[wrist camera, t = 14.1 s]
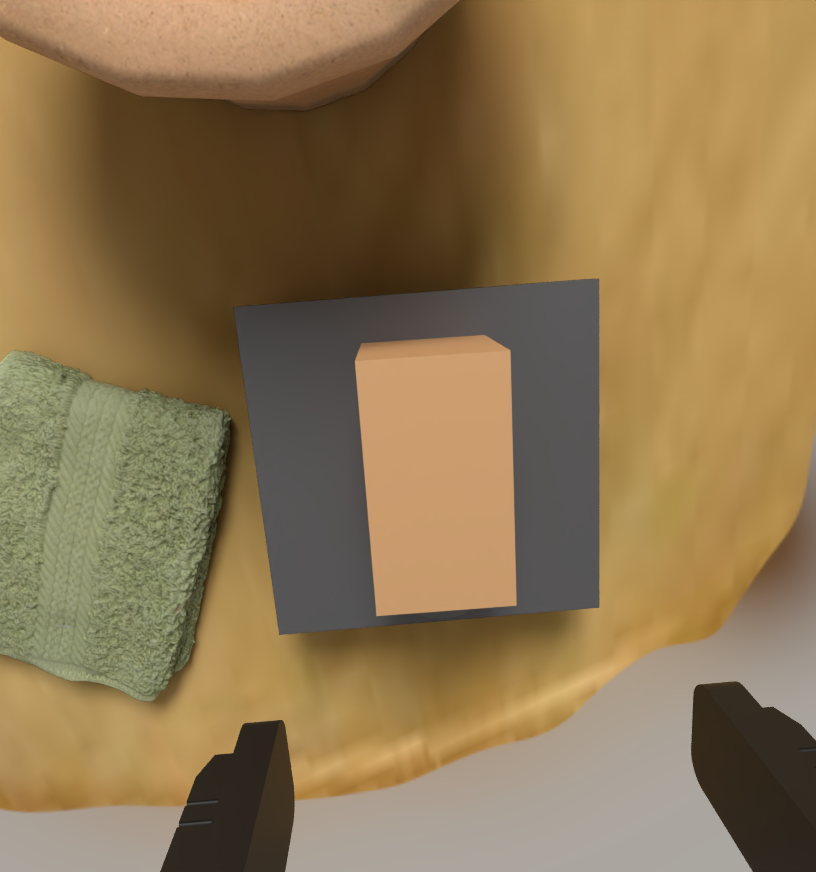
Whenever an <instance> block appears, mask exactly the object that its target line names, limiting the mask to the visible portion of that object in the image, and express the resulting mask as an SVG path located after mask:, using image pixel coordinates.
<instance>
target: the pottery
mask: <svg viewBox="0 0 816 872" xmlns="http://www.w3.org/2000/svg"><path fill="white" fill-rule="evenodd" d="M458 1H460V0H0V36H1V37H2V38H4V39H6V40H7V41H9V42H12V43H14V44H17V45H19V46H21V47H24V48H26V49H28V50H31V51H33V52H36V53H38V54H40V55H43V56H45V57H48V58H50V59H52V60H55V61H57V62H60V63H62V64H64V65H67V66H69V67H71V68H74V69H76V70H79V71H81V72H83V73H86V74H88V75H91V76H93V77H95V78H98V79H100V80H103V81H105V82H107V83H110V84H112V85H114V86H117V87H119V88H122V89H124V90H126V91H129V92H131V93H134V94H136V95H138V96H146V97H174V98H201V99H223V100H225V101H228V102H230V103H232V104H235V105H237V106H240V107H242V108H244V109H261V110H289V111H309V110H312V109H315V108H317V107H320V106H323V105H326V104H328V103H331V102H334V101H337V100H339V99H342V98H345V97H348V96H350V95H353V94H356V93H359V92H361V91H364V90H366V89H367V88H368V87H369V86H370V85H372V84H373V83H374V82H375V81H376V80H377V79H378V78H380V77H381V76H382V75H383V74H384V73H385V72H386V71H388V70H389V69H390V68H391V67H392V66H393V65H394V64H395V63H397V62H398V61H399V60H400V59H401V58H402V57H403V56H405V55H406V54H407V53H408V52H409V51H410V50H411V49H413V48H414V46H415V44H416V42H417V40H418V39H419V37H420V35H421V34H422V33H423V32H424V31H426V30H427V29H428V28H429V27H430V26H431V25H432V24H433V23H435V22H436V21H437V20H438V19H439V18H440V17H441V16H443V15H444V14H445V13H446V12H447V11H448V10H449V9H450V8H452V7H453V6H454V5H455V4H456V3H457V2H458Z"/></svg>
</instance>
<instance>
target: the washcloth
mask: <svg viewBox="0 0 816 872" xmlns="http://www.w3.org/2000/svg"><path fill="white" fill-rule="evenodd" d="M230 420H232V418H230V415H229V413H228V412H227V411H226V410H221V409H220V408H219V407H216V409H213V408H211V407H209V406H207V405H201V404H198V403H197V404H196V403H195V404H193V403H187V402H184V401H183V400H182V399H179V398H173V399H172V398H169V397H168V396H164V395H163V394H160V393H158V392H155V391H149V390H148V389H147V388H145V389H144V390H140V391H138V392H136V391H131V390H130V389H126V388H123V387H118V386H116V385H112V384H109V383H102V382H100V381H96V380H92V378H91V376H90V375H89V374H87V373H84V372H82V371H81V370H80V369H75V368H72V367H69V366H68V367H66V368H64V367H63V366H62V365H61V364H60V363H58V362H53V361H51V360H50V359H48V358H46V357H43V356H41V355H38V354H35V353H33V352H31V351H28V352H27V351H24V352H22V351H16V350H13V351H11V352H10V353H9V354H7V356H6V357H5V358H4V359H3V360H2V362H1V363H0V654H2V655H6V656H8V657H12V658H13V659H17V660H20V661H23V662H25V663H29V664H32V665H34V666H37V667H39V668H40V669H42V670H44V671H46V672H48V673H50V674H53V675H55V676H57V677H60V678H63V679H66V680H69V681H89V682H96V683H100V684H104V685H107V686H110V687H113V688H116V689H119V690H121V691H123V692H125V693H127V694H128V695H130V696H132V697H134V698H136V699H138V700H141V701H148V702H151V701H153V700H155V699H156V698H157V697H158V696H159V694H160V692H161V690H165V689H167V688H168V685H169V681H170V678H171V677H172V676H173V675H172V674H173V673H175V672H177V671H179V670H181V669H183V668H184V665H185V664H186V662H187V661H188V660H189V657H190V655H191V649H192V646H193V643H195V641H194V637H193V636H194V635H195V633H194V632H195V624H196V621H197V619H198V617H199V613H200V604H201V599H202V592H203V589H204V585H203V581H204V580H205V579H206V577H207V572H208V571H207V569H208V568H209V560H210V558H211V553H212V541H213V539H214V538H215V534H216V527H217V522H216V521H215V519H216V517H217V516H218V513H219V510H220V509H221V503H222V497H221V494H220V492H221V490H222V489H223V486H224V484H223V483H224V481H225V478H226V474H225V472H224V470H226V465H225V464H226V456H227V452H228V447H229V445H230V432H231V430H230V428H229V425H230V422H231V421H230Z"/></svg>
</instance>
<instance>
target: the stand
mask: <svg viewBox="0 0 816 872" xmlns="http://www.w3.org/2000/svg"><path fill="white" fill-rule="evenodd" d="M233 308H234V315H235V323H236V330H237V337H238V344H239V351H240V358H241V365H242V372H243V379H244V387H245V394H246V401H247V408H248V415H249V422H250V429H251V436H252V443H253V451H254V458H255V465H256V472H257V479H258V486H259V493H260V500H261V507H262V515H263V522H264V529H265V536H266V543H267V550H268V557H269V564H270V571H271V579H272V586H273V593H274V600H275V607H276V614H277V621H278V628H279V635H283V634H295V633H306V632H318V631H330V630H342V629H353V628H365V627H377V626H389V625H400V624H412V623H424V622H436V621H447V620H459V619H471V618H483V617H494V616H506V615H518V614H529V613H541V612H553V611H565V610H576V609H588V608H599V279H581V280H569V281H556V282H543V283H530V284H517V285H505V286H492V287H479V288H466V289H453V290H440V291H428V292H415V293H402V294H389V295H376V296H363V297H351V298H338V299H325V300H312V301H299V302H286V303H274V304H261V305H248V306H237V307H233ZM477 335H486V336H487V337H489V338H491V339H492V340H494V341H496V342H497V343H499V344H501V345H502V346H504V347H506V348H507V349H509V350H510V352H511V393H512V435H513V476H514V518H515V559H516V601H517V606H505V607H492V608H478V609H471V610H469V611H468V612H466V613H464V614H462V615H459V616H456V617H451V618H429V617H424V616H421V615H418V614H416V613H412V614H398V615H385V616H376V604H375V592H374V580H373V569H372V557H371V545H370V533H369V521H368V510H367V498H366V486H365V474H364V463H363V451H362V439H361V427H360V416H359V404H358V392H357V380H356V369H355V359H356V357H357V354H358V351H359V348H360V346H361V343H373V342H388V341H403V340H418V339H432V338H447V337H462V336H477Z"/></svg>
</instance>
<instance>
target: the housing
mask: <svg viewBox="0 0 816 872" xmlns="http://www.w3.org/2000/svg"><path fill="white" fill-rule="evenodd" d="M355 369H356V380H357V392H358V404H359V416H360V427H361V439H362V451H363V463H364V474H365V486H366V498H367V510H368V521H369V533H370V545H371V557H372V569H373V580H374V592H375V604H376V616H385V615H398V614H412V613H416V614H418V615H421V616H424V617H429V618H451V617H456V616H459V615H462V614H464V613H466V612H468V611H469V610H471V609H478V608H492V607H505V606H517V601H516V559H515V518H514V476H513V435H512V393H511V352H510V350H509V349H507V348H506V347H504V346H502V345H501V344H499V343H497V342H496V341H494V340H492V339H491V338H489V337H487V336H486V335H477V336H462V337H447V338H432V339H418V340H403V341H388V342H373V343H361V346H360V348H359V351H358V354H357V357H356V359H355Z"/></svg>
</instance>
